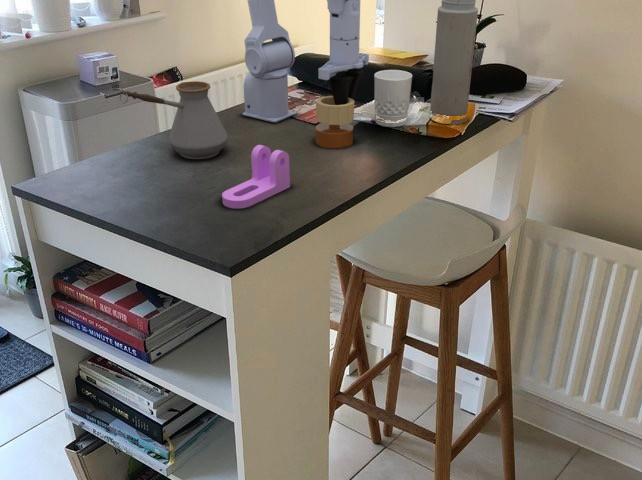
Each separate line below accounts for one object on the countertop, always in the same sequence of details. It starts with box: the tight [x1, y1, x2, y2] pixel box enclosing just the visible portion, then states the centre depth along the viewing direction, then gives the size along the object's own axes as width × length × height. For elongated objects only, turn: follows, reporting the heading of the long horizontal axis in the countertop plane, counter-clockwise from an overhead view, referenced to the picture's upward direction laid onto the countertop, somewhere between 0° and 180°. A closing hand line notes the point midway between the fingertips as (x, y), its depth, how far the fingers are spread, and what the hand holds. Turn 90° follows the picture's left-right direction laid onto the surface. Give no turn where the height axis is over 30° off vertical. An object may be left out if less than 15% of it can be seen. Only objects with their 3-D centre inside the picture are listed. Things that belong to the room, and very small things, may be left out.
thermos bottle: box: [429, 0, 479, 126], centre depth 156 cm, size 8×8×28 cm
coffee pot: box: [119, 80, 229, 160], centre depth 141 cm, size 21×12×15 cm, turn 136°
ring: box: [315, 95, 355, 125], centre depth 149 cm, size 7×7×4 cm
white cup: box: [373, 69, 413, 128], centre depth 160 cm, size 8×8×10 cm
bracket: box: [221, 144, 291, 210], centre depth 129 cm, size 13×6×7 cm, turn 141°
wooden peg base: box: [315, 122, 354, 149], centre depth 151 cm, size 8×8×7 cm
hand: (343, 108), depth 152 cm, fingers closed on ring
